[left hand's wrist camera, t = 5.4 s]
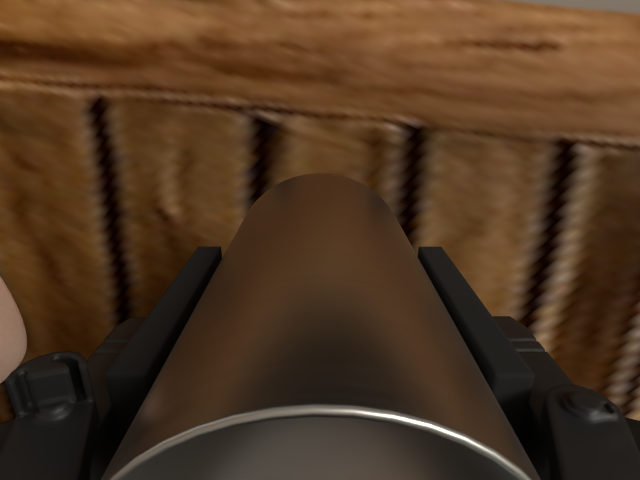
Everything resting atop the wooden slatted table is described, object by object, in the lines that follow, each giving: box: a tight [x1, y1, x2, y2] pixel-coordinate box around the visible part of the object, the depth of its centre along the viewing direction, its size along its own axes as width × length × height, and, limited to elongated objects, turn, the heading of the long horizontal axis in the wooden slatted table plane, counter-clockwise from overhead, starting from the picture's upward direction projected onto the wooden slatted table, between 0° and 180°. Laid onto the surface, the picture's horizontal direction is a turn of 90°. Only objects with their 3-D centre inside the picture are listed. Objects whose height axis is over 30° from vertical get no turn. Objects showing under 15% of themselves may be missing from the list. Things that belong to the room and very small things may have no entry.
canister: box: [101, 173, 541, 480], centre depth 11 cm, size 7×7×12 cm
